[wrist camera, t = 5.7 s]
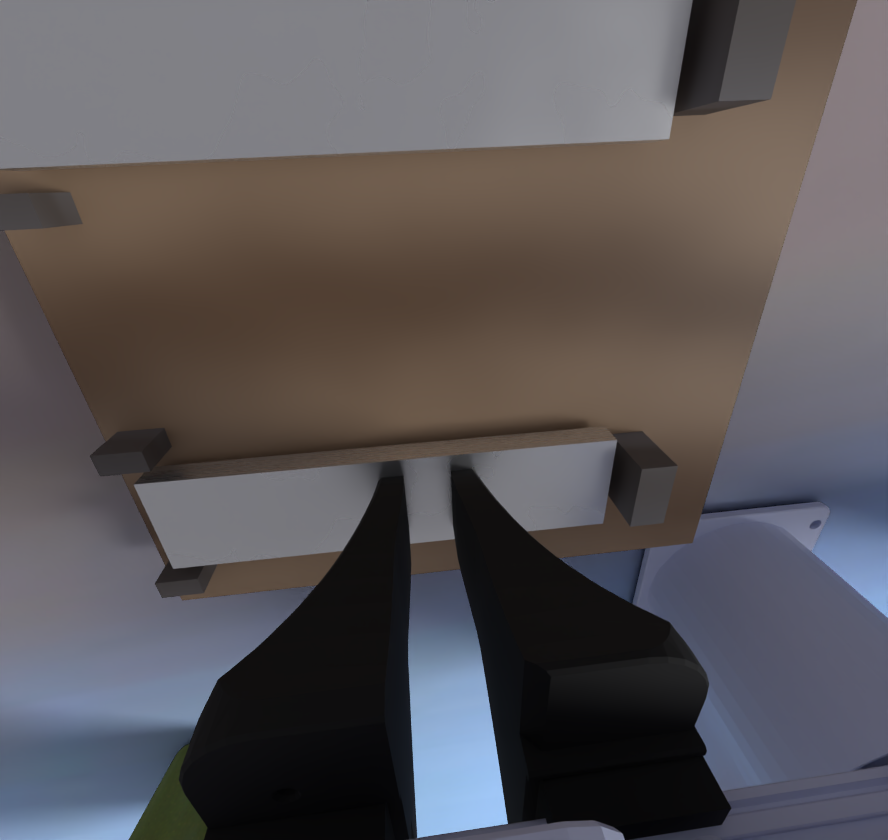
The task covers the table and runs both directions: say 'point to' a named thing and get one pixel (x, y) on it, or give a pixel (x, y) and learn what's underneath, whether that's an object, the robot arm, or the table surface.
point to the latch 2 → (369, 493)
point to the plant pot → (170, 810)
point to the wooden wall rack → (443, 292)
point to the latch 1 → (329, 78)
